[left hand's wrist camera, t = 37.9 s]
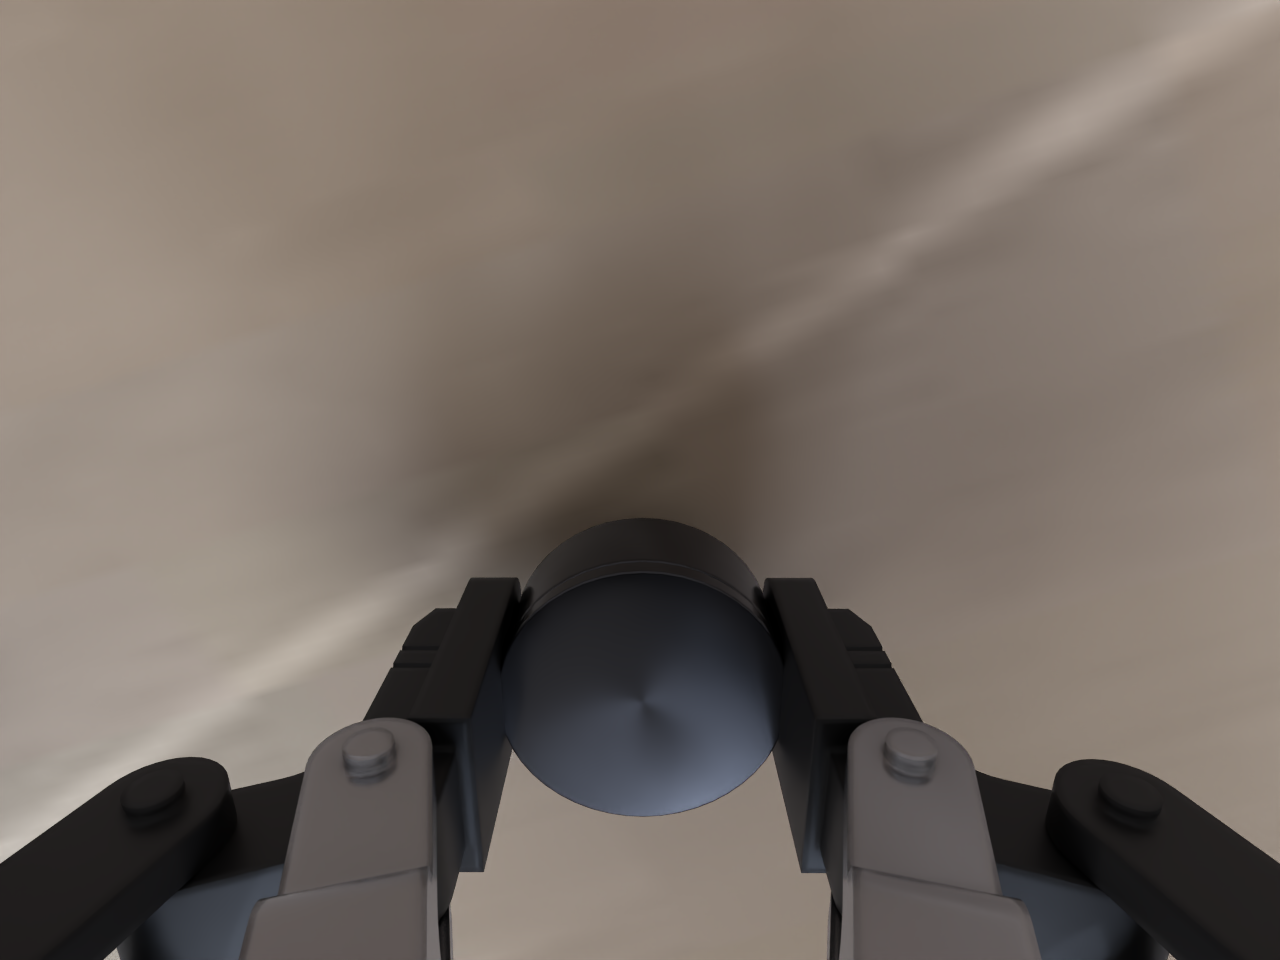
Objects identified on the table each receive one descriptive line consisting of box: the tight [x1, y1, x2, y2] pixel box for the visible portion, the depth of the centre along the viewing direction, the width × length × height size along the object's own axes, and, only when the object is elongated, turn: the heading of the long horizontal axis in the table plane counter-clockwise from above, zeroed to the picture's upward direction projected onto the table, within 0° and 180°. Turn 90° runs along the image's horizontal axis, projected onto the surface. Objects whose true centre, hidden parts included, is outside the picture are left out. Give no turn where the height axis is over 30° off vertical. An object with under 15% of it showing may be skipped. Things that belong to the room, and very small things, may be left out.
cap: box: [500, 518, 784, 817], centre depth 11 cm, size 4×4×2 cm
